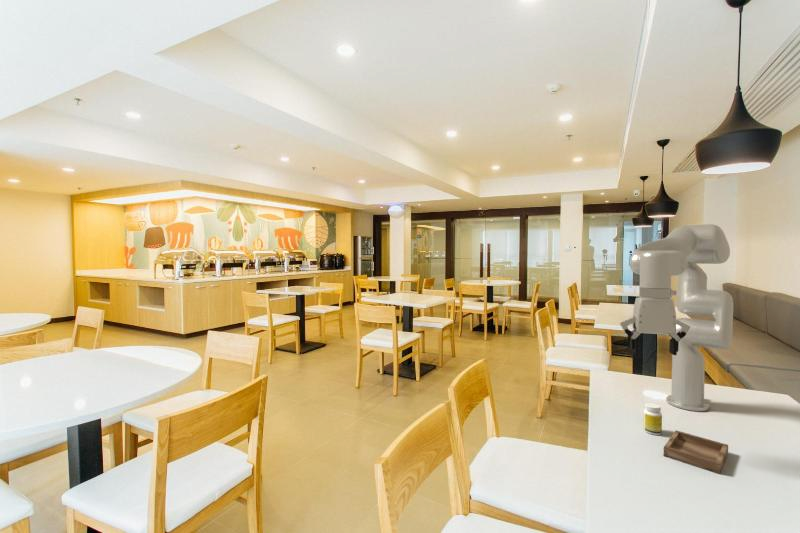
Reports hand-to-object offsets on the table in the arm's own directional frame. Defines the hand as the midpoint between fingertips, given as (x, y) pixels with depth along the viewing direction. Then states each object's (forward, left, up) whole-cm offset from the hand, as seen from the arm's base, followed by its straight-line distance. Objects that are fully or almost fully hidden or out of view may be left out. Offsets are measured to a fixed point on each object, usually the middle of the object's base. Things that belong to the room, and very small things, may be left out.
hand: (653, 352), depth 110 cm
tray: (-2, +10, -27) cm, 29 cm away
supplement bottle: (-9, -2, -27) cm, 29 cm away
